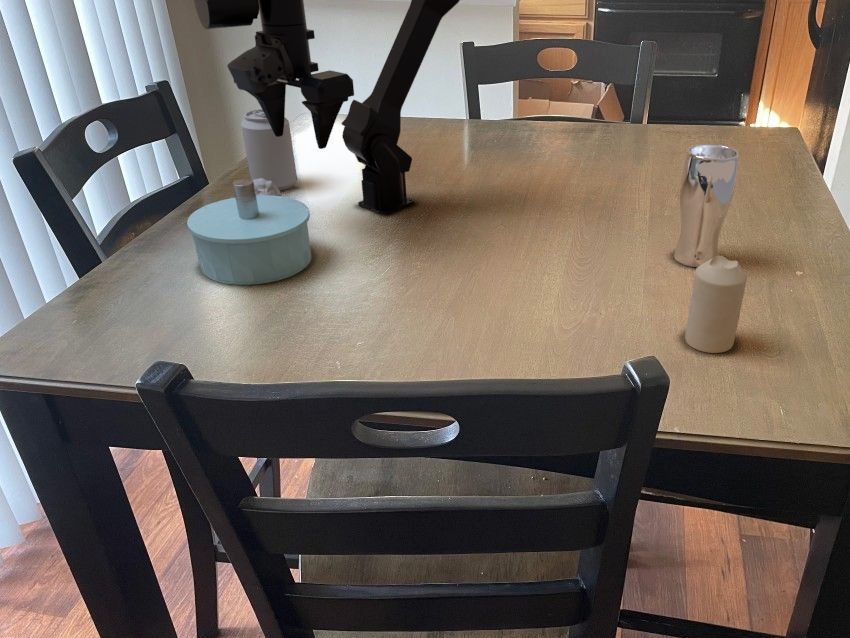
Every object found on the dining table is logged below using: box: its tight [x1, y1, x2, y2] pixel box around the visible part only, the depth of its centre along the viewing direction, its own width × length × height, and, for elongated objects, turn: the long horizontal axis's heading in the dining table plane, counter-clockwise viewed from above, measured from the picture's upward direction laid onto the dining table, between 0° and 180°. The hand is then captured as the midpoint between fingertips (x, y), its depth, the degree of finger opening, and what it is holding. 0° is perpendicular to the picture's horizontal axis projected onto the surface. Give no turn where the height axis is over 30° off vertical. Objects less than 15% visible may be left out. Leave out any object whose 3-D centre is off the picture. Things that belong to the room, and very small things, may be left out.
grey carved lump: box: [253, 178, 282, 196], centre depth 113 cm, size 6×7×7 cm
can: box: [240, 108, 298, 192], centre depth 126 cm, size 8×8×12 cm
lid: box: [186, 178, 311, 244], centre depth 100 cm, size 15×15×6 cm
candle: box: [684, 255, 748, 354], centre depth 85 cm, size 6×6×10 cm
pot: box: [192, 222, 312, 286], centre depth 103 cm, size 14×15×6 cm
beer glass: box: [673, 143, 740, 269], centre depth 103 cm, size 7×7×15 cm
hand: (300, 142), depth 109 cm, fingers open, 9 cm apart
